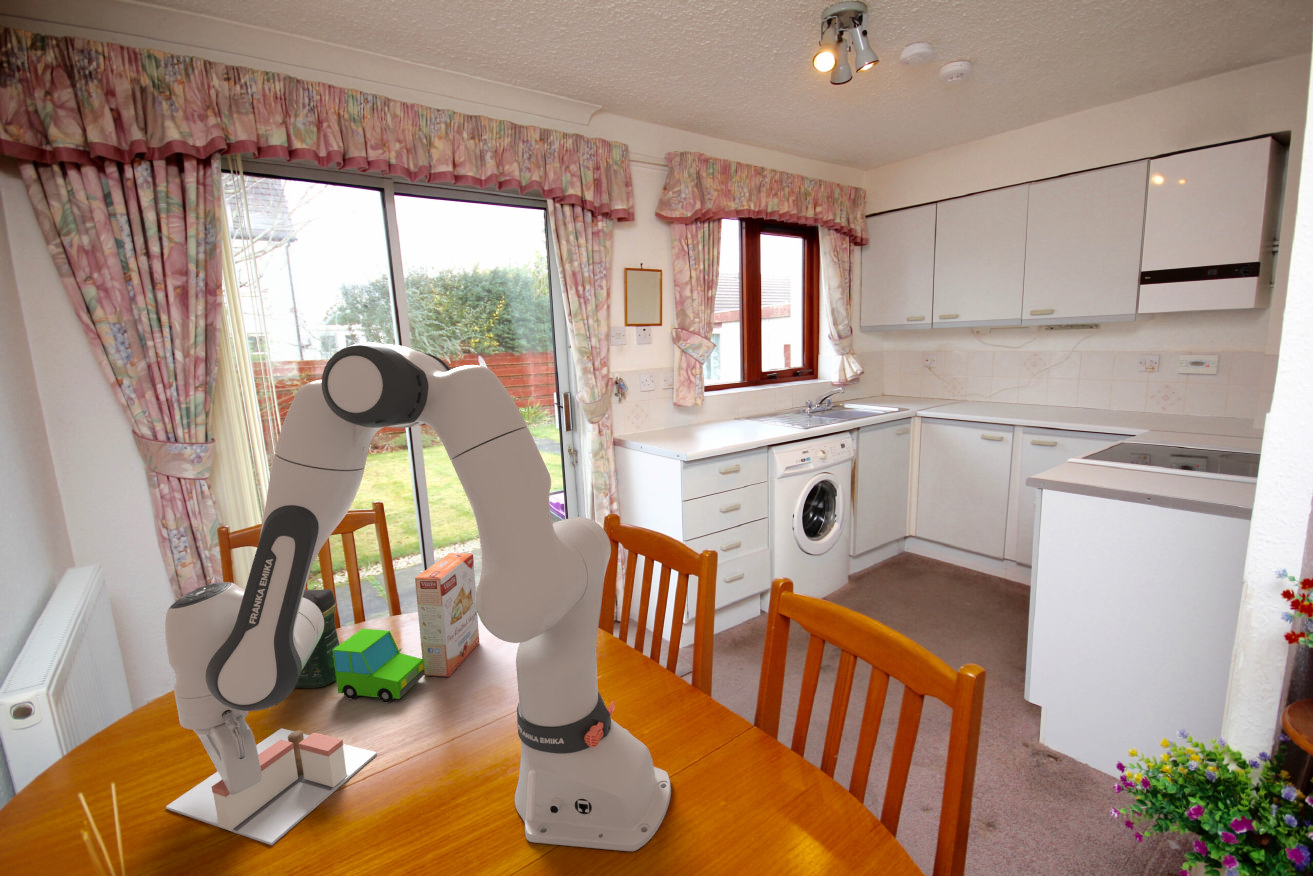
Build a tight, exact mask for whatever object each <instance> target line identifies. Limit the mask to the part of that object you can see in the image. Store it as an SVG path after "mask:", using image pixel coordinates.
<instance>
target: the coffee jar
mask: <svg viewBox="0 0 1313 876" xmlns="http://www.w3.org/2000/svg"><path fill="white" fill-rule="evenodd" d="M303 597H305V598H308V599H309V600H311V601H313V602H314V603H315V604H316V605H317V606H318V607H319V608H320V610H321V611H322V613H323V616H324V620H325V627H324V631H323V634H322V636H321V638H320V640H319V642H318V643H317V645H316V647H315V649H314V650H313V652H312V654H311V656H310V658H309V659H308V661H307V663H306V664H305V666H304V668H303V669H302V671H301V674H300V676H299V679H298V681H297V683H296V686H295V688H296V689H297V688H299V689H310V688H312V689H314V688H315V689H316V688H323V687H325V686H327V685H330V684H331V683H333V682H335V681H337V680H336V673H335V665H334V658H333V651H332V650H333V649H334V648H336V647H337V646H338V645H340V644H341V643H340V641H339V638H338V632H337V627H336V622H335V621H336V620H335V613H336V610H337V609H336V608H337V602H336V598H335V596H334V592H333V590H331V589H330V588H326V589H325V588H324V589H305V590H304V594H303ZM295 688H294V689H295Z"/></svg>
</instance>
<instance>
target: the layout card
mask: <svg viewBox="0 0 1313 876" xmlns="http://www.w3.org/2000/svg"><path fill="white" fill-rule="evenodd" d="M292 732H295V730H290V729H286V728H284V727H283V728H282V727H281V728H280V729H278V730H276V731H275V732H274V733H272V734H270V735H269V736H268V737H266V738H264V739H263V740H262V741H261V742H259V743H258V744H256V747H257V752H258V754H260V753H261V752H263V751H264V750H266V749H267V748H269V747H270V746H272V745H273V744H275V743H276V742H277V741H279V740H280V739H282V740H285V741H288V735H289V734H291V733H292ZM309 735H310V734H305V733H303V736H304V739H305V738H307V737H308V736H309ZM343 751H344V758H345V766H346V773H347V776H346V777H345V778H344V779H343V780H342V781H340V782H339V783H338V784H337V785H336V786H335V787H330V786H327V785H324V784H320V783H317V782H313V781H310V780H306V779H304V774H303V775H301V776H298V779H297V780H296V781H294V782H293V783H292V784H290V785H289V786H288V787H287V788H285V789H284V790H283V791H281V792H280V793H279V794H278V795H276V796H275V797H274V798H272V799H271V800H270V801H269V802H267V803H266V804H265V805H263V806H262V807H261V808H259V809H258V810H257V811H256V812H254V813H253V814H252V815H250V816H249V817H248V818H247V819H245V820H244V821H243V822H241V823H240V824H239V825H238V826H236V827H235V828H234V829H232V830H228V829H226V828H223V827H220V826H219V823H218V818H217V812H216V807H215V801H214V795H213V792H212V786H213V785H215V784H216V783H218V782H219V781H221V780H222V778H221V776H220V774H219V773H218V771H217V770H216V772H214V773H213V774H212V775H210V776H208V777H207V778H205V780H203V781H201V782H200V783H198V784H196V785H195V786H193V787H192V788H191V789H190V790H188V791H186V792H184V793H183V794H182V795H180V796H179V797H178V798H176V799H175V800H173V801H171V802H170V803H169V804H167V805H166V806H165V809H166V810H168V811H171V812H173V813H177V814H179V815H184V816H186V817H189V818H191V819H194V820H197V821H201V822H204V823H206V824H209V825H212V826H215V827H218V828H221V829H224V830H227V831H228V832H229V831H230V832H232V833H235V834H237V835H240V836H244V837H247V838H249V839H252V840H255V841H259V842H261V843H263V844H267V845H269V846H273V845H274V844H275V843H276V842H278V841H279V840H281V838H282V837H284V836H285V835H286V834H287V833H288V832H289V831H290V830H292V829H293V828H294V827H295V826H296V825H297V824H298V823H299V822H301V821H302V820H303V819H304V818H305V817H306V816H308V815H309V814H310V813H311V812H312V811H313V810H315V809H316V808H317V807H318V806H319V805H320V804H322V803H323V802H324V801H325V800H327V798H328V797H330V796H331V795H332V794H333V793H334V792H336V791H337V790H338V789H339V788H340V787H341V786H342V785H344V784H345V783H347V781H348V780H349V779H351V778H352V777H353V776H354V775H355V774H356V773H358V772H359V771H360V770H361V769H362V768H363V767H364V766H366V764H369V762H370V761H372V760H373V759H374V758H375V757H376V756H377V755H378V752H376V751H374V750H369V749H364V748H362V747H356V746H354V745H349V744H345V743H343Z"/></svg>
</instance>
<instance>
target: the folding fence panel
mask: <svg viewBox="0 0 1313 876" xmlns="http://www.w3.org/2000/svg"><path fill="white" fill-rule="evenodd" d="M258 757H259V762H260V767H261V773H262V776H261V780H260V782H259V783H257V784H255V785H253V786H251V787H250V788H248V789H246V790H243V791H241V792H239V793H237V794H234V795H232V794H230V793H229V791H228V789H227V787H226V785H225V784H224V782H223V780H221V781H219V782H218V783H216V784H215V785H213V786H212V792H213V795H214V801H215V807H216V812H217V818H218V823H219V826H220V827H223V828H226V829H228V830H227V831H229V830H232V829H234V828H235V827H236V826H238V825H239V824H240V823H241V822H243V821H244V820H245V819H247V818H248V817H249V816H250V815H252V814H253V813H254V812H256V811H257V810H258V809H259V808H261V807H262V806H263V805H265V804H266V803H267V802H269V801H270V800H271V799H272V798H274V797H275V796H276V795H278V794H279V793H280V792H281V791H283V790H284V789H285V788H287V787H288V786H289V785H290V784H292V783H293V782H294V781H296V780H297V779H298V774H297V768H296V761H295V754H294V745H293V743H292V742H289V741H285V740H282V739H280V740H279V741H277V742H276V743H275V744H273V745H272V746H270V747H269V748H267V749H266V750H264V751H263V752H261V753H260V754H258ZM220 827H219V828H220ZM223 828H222V829H223ZM226 829H225V830H226Z"/></svg>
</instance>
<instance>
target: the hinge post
mask: <svg viewBox="0 0 1313 876" xmlns="http://www.w3.org/2000/svg"><path fill="white" fill-rule="evenodd" d="M303 734H304V732H303V730H294V732H292V733H291V734H289V735H288V741H289V742H292V743H293V745H294V754H295V761H296V768H297V774H298V776H301V775H303V774H304V773H303V766H302V759H301V753H300V749H299V744H298V743H300V742H301V741H302V740H304V736H303Z"/></svg>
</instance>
